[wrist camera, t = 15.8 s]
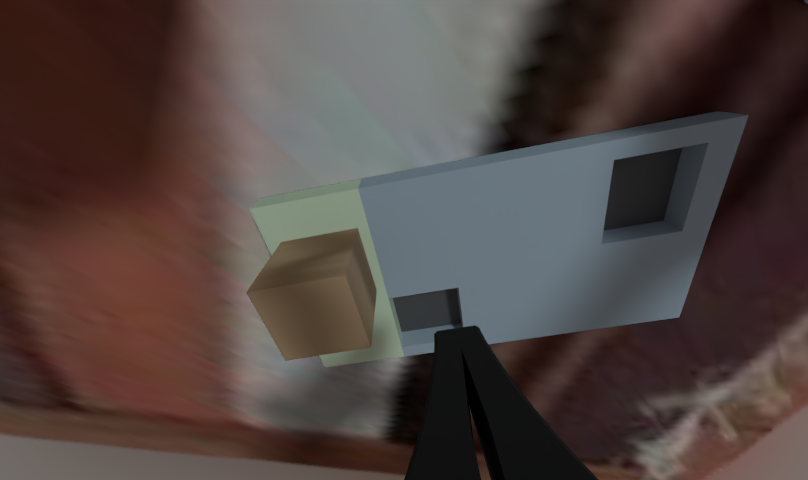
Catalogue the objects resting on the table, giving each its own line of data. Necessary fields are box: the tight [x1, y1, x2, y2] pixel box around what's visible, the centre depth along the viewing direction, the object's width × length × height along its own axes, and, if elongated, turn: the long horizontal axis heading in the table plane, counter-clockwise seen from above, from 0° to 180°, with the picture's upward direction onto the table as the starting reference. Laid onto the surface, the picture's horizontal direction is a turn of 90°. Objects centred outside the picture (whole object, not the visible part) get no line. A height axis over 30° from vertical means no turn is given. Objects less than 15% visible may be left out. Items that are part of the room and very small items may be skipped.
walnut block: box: [246, 228, 377, 361], centre depth 16 cm, size 4×4×4 cm
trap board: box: [250, 111, 749, 368], centre depth 19 cm, size 25×13×2 cm, turn 101°
